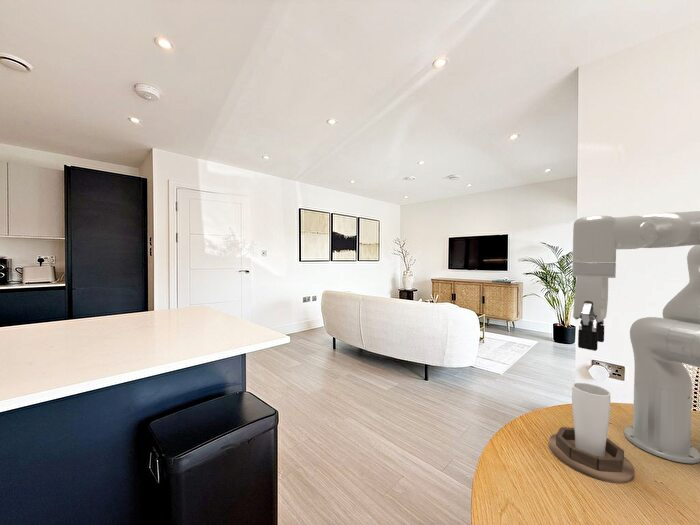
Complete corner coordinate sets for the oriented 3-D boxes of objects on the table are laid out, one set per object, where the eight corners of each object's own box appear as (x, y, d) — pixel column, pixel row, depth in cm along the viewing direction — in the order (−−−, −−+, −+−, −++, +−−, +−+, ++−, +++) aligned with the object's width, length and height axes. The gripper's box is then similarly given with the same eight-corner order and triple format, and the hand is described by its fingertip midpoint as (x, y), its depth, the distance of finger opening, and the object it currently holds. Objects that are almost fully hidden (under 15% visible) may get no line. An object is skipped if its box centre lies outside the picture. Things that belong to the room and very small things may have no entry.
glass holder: (557, 429, 76) (557, 416, 76) (636, 459, 64) (637, 444, 64) (540, 454, 66) (541, 440, 66) (631, 495, 54) (631, 478, 54)
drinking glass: (617, 465, 61) (618, 397, 61) (581, 460, 62) (583, 393, 62) (596, 445, 68) (598, 383, 67) (564, 441, 69) (566, 381, 69)
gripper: (579, 269, 73) (578, 334, 73) (563, 270, 62) (562, 348, 62) (619, 270, 67) (618, 341, 68) (610, 272, 56) (608, 357, 56)
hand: (591, 344), depth 65 cm, fingers open, 9 cm apart
